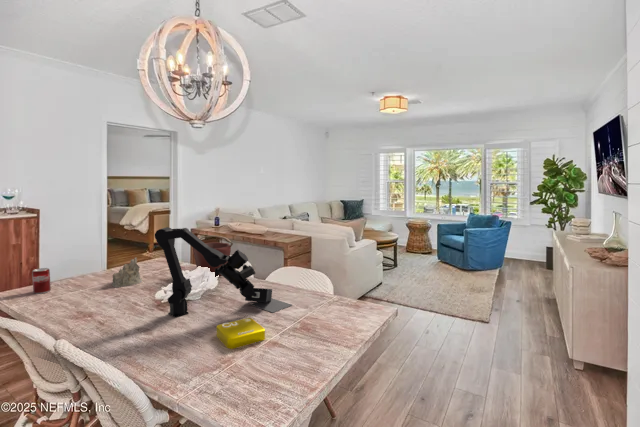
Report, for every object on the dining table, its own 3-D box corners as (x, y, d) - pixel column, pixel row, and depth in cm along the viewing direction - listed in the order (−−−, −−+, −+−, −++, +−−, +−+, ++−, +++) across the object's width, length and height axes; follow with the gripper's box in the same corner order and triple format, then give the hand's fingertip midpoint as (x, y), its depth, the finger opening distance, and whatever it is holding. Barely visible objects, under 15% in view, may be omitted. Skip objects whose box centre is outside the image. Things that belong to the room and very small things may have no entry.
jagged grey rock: (137, 276, 216) (135, 253, 213) (145, 284, 204) (142, 259, 201) (108, 283, 206) (105, 258, 203) (114, 291, 194) (111, 264, 191)
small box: (266, 302, 165) (271, 302, 175) (267, 288, 166) (272, 288, 176) (244, 301, 166) (251, 300, 176) (246, 287, 167) (252, 287, 177)
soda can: (35, 290, 188) (34, 268, 186) (52, 289, 191) (51, 267, 190) (31, 294, 181) (29, 272, 180) (48, 293, 184) (47, 270, 183)
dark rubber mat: (272, 313, 161) (272, 312, 161) (249, 304, 171) (249, 304, 171) (292, 305, 171) (292, 304, 171) (269, 298, 181) (269, 297, 181)
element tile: (228, 351, 126) (228, 338, 125) (215, 335, 138) (214, 323, 137) (266, 340, 134) (266, 328, 134) (250, 326, 146) (250, 315, 146)
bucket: (238, 271, 231) (238, 234, 228) (220, 281, 210) (219, 239, 207) (206, 268, 237) (205, 232, 235) (185, 277, 216) (184, 237, 214)
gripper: (249, 265, 150) (274, 287, 156) (239, 256, 167) (262, 277, 173) (230, 285, 148) (256, 307, 154) (222, 274, 164) (246, 294, 170)
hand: (255, 295), depth 163 cm, fingers closed
